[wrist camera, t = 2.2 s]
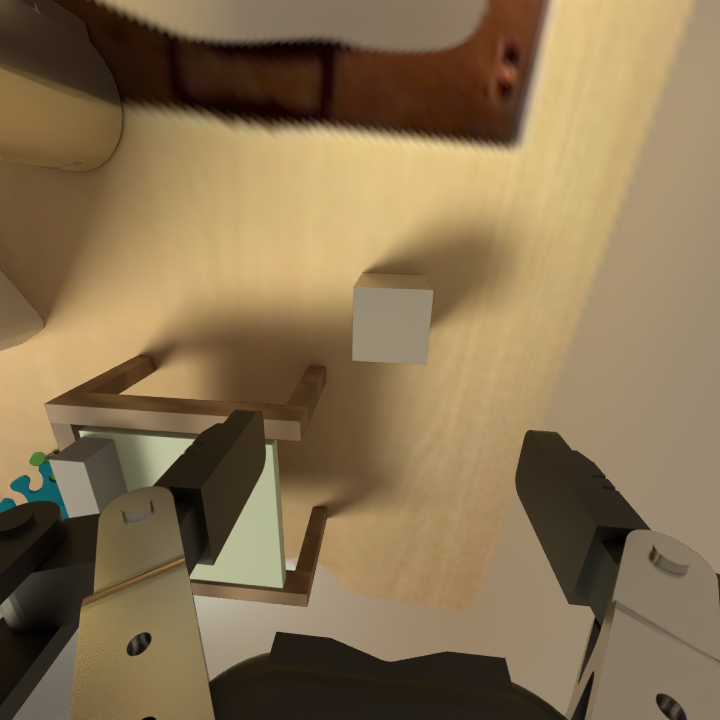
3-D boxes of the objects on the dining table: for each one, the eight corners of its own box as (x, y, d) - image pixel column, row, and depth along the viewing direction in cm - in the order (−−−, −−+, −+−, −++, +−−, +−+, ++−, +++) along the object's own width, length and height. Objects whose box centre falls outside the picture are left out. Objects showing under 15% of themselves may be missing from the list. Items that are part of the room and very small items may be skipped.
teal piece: (136, 525, 39) (16, 583, 33) (131, 505, 44) (25, 553, 38) (102, 434, 37) (-33, 479, 31) (101, 423, 41) (-17, 461, 36)
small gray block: (362, 272, 29) (353, 286, 22) (424, 275, 28) (433, 290, 22) (360, 331, 30) (352, 360, 24) (418, 334, 30) (426, 364, 24)
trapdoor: (129, 561, 31) (98, 602, 28) (89, 423, 26) (44, 453, 22) (286, 576, 30) (272, 621, 27) (276, 437, 25) (258, 470, 21)
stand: (169, 505, 40) (105, 585, 31) (136, 356, 33) (43, 403, 24) (326, 519, 38) (307, 607, 30) (325, 367, 32) (299, 421, 23)
